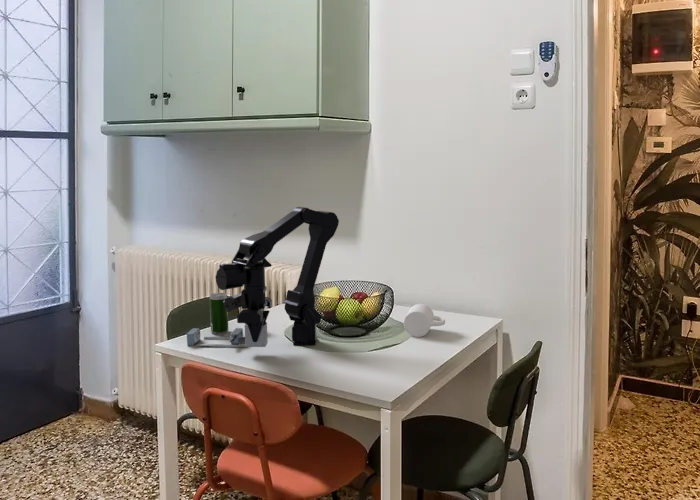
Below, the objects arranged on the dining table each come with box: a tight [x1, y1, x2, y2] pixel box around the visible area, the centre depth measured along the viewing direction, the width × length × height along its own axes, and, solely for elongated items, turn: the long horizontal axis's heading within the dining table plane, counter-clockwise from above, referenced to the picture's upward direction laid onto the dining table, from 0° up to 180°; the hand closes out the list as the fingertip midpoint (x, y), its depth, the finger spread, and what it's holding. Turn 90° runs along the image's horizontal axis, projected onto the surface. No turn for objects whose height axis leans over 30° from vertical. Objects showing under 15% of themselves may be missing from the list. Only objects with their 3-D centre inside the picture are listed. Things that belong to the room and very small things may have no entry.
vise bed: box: [186, 327, 246, 348], centre depth 190 cm, size 18×8×4 cm, turn 87°
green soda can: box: [209, 292, 229, 335], centre depth 201 cm, size 5×5×12 cm
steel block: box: [244, 321, 268, 348], centre depth 179 cm, size 4×6×6 cm, turn 87°
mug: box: [403, 303, 446, 338], centre depth 198 cm, size 12×10×8 cm
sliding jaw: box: [229, 327, 244, 345], centre depth 188 cm, size 2×10×3 cm, turn 177°
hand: (256, 339), depth 179 cm, fingers closed on steel block, 3 cm apart
